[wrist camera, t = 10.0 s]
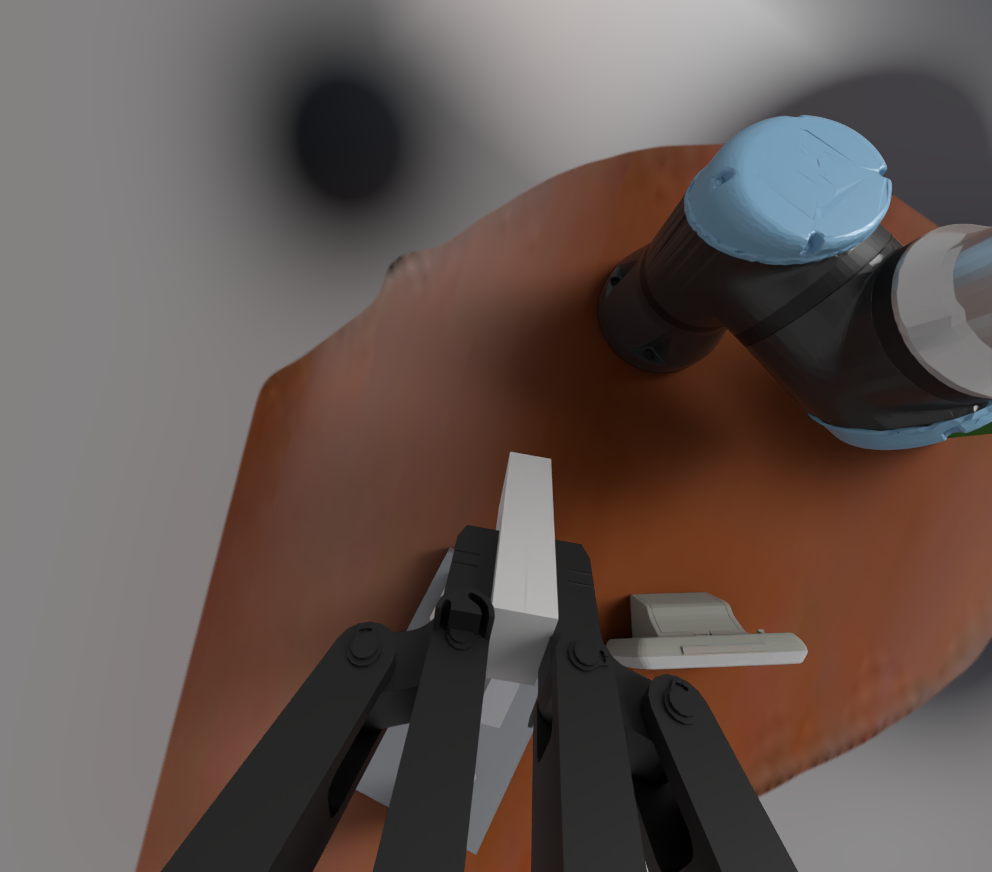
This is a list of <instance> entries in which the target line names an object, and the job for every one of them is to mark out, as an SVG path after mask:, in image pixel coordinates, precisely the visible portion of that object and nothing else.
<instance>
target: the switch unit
mask: <svg viewBox="0 0 992 872" xmlns="http://www.w3.org/2000/svg"><path fill="white" fill-rule="evenodd" d="M453 553H454V549H453V548H451V547H450V548H449V550H448V552H447V553H446V555H445V557H444V559H443V561H442V563H441V565H440V567H439V569H438V571H437V573H436V575H435V576H434V578H433V580H432V582H431V584H430V586H429V588H428V590H427V592H426V594H425V596H424V598H423V599H422V601H421V603H420V605H419V607H418V609H417V611H416V613H415V615H414V617H413V619H412V621H411V622H410V624H409V626H408V628H407V630H406V631H410V630H414V629H418V628H420V627H422V626H424V625H426V624H428V623H429V622H430V616H431V614H432V612H433V610H434V608H435V606H436V604H437V602H438V600H439V598H440V596H441V595H442V593H443V591H444V589H445V586H446V582H447V578H448V574H449V569H450V565H451V562H452V557H453ZM537 696H538V677H537V680H536V683H535V686H531V685H525V684H520V686H519V688H518V690H517V692H516V694H515V697H514V699H513V701H512V703H511V705H510V707H509V709H508V711H507V713H506V716H505V718H504V720H503V722H502V724H501V726H500V728H496V727H493V726H489V725H485V724H482V723H480V732H479V741H478V750H477V759H476V768H475V773H476V779H475V781H474V786H473V795H472V804H471V813H470V822H469V831H468V840H467V849H466V850H468V851H470V852H472V853H474V854H477V852H478V849H479V847H480V845H481V843H482V841H483V839H484V836H485V834H486V832H487V830H488V828H489V826H490V823H491V821H492V819H493V817H494V815H495V813H496V811H497V808H498V806H499V804H500V802H501V800H502V798H503V795H504V793H505V791H506V789H507V787H508V785H509V782H510V780H511V778H512V776H513V774H514V772H515V770H516V767H517V765H518V763H519V761H520V759H521V757H522V754H523V752H524V750H525V748H526V746H527V744H528V741H529V739H530V737H531V735H532V733H533V726H532V728H530V727H528V722H529V717H530V715H531V712H532V709H533V707H534V704H535V701H536V699H537ZM408 728H409V723H408V724H403V725H398V726H393V727H388V729H387V731H386V733H385V735H384V736H383V738H382V740H381V742H380V744H379V746H378V748H377V750H376V752H375V754H374V756H373V757H372V759H371V761H370V763H369V765H368V767H367V769H366V771H365V773H364V775H363V777H362V779H361V780H360V782H359V784H358V786H357V788H356V790H357V791H359V792H361V793H363V794H365V795H367V796H368V797H370V798H372V799H374V800H376V801H378V802H379V803H381V804H383V805H385V806H387V807H389V804H390V800H391V796H392V792H393V788H394V784H395V780H396V776H397V772H398V768H399V764H400V760H401V756H402V752H403V748H404V744H405V740H406V736H407V732H408Z"/></svg>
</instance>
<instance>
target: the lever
mask: <svg viewBox="0 0 992 872" xmlns="http://www.w3.org/2000/svg"><path fill="white" fill-rule="evenodd" d="M444 590H445V589H444ZM443 594H444V591H443V593H442V595H443ZM442 595H441V596H442ZM441 596H440V597H441ZM439 599H440V598H439ZM438 601H439V600H438ZM434 614H435V608H434V610H433V612H432V614H431V616H430V621H431V620H432V619H433V618H434ZM519 686H520V683H514V682H509V681H503V680H498V679H492V678H487V677H486V678H485V687H484V696H483V705H482V714H481V723H482V724H485V725H489V726H493V727H496V728H500V726H501V724H502V722H503V720H504V718H505V716H506V713H507V711H508V709H509V707H510V705H511V703H512V701H513V699H514V697H515V694H516V692H517V690H518V688H519Z"/></svg>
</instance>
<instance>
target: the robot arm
mask: <svg viewBox="0 0 992 872" xmlns="http://www.w3.org/2000/svg"><path fill="white" fill-rule="evenodd" d="M886 170H887V166H886V163H885V161H884V160H883V158H882V156H881V155H880V153H879V152H878V151H877V150H876V149H875V147H874V146H873V145H872V144H871V143H870V142H869V141H867V140H866V139H865V138H864V137H862V136H861V135H860V134H859V133H857V132H855V131H854V130H852V129H850V128H849V127H847V126H844V125H843V124H840V123H838V122H835V121H831V120H829V119H825V118H821V117H815V116H807V115H801V116H799V117H789V116H780V117H774V118H770V119H767V120H764V121H761V122H758V123H756V124H753V125H751V126H749V127H747V128H746V129H744V130H742V131H741V132H739V133H738V134H736V135H735V136H734V137H732V138H731V139H730V140H729V141H728V142H727V143H726V144H725V145H724V146H723V147H722V148H721V149H720V150H719V151H718V153H717V154H716V155H715V156H714V158H713V159H712V160H711V161H710V162H709V164H708V165H707V166H706V167H705V168H703V169H702V170H701V171H700V172H699V173H698V174H697V175H696V176H695V178H694V179H693V180H692V182H691V185H690V186H689V188H688V189H687V192H686V194H685V195H684V197H683V198H682V200H681V201H680V202H679V204H678V205H677V207H676V208H675V209H674V211H673V212H672V214H671V215H670V217H669V218H668V219H667V221H666V222H665V224H664V225H663V226H662V228H661V229H660V231H659V232H658V233H657V235H656V236H655V238H654V239H653V241H652V242H651V243H650V244H648V245H646V246H644V247H642V248H641V249H639V250H637V251H635V252H633V253H632V254H630V255H629V256H627V257H626V258H624V259H623V260H622V261H621V262H620V263H619V264H618V265H617V266H616V267H615V268H614V270H613V271H612V273H611V274H610V276H609V277H608V279H607V280H606V282H605V284H604V286H603V288H602V290H601V293H600V297H599V302H598V318H599V323H600V327H601V330H602V332H603V335H604V337H605V339H606V341H607V342H608V344H609V345H610V347H611V348H612V349H613V350H614V351H615V352H616V353H617V354H618V355H619V356H620V357H621V358H622V359H623V360H625V361H626V362H628V363H629V364H631V365H633V366H635V367H637V368H640V369H643V370H646V371H650V372H658V373H667V372H674V371H678V370H682V369H684V368H687V367H689V366H691V365H692V364H694V363H696V362H698V361H699V360H701V359H703V358H704V357H705V356H707V355H708V354H709V353H710V352H711V351H712V350H713V349H714V348H715V347H716V346H717V345H718V343H719V342H720V340H721V338H722V337H723V335H724V334H725V332H726V331H727V329H728V330H729V331H730V332H731V333H732V334H733V335H734V336H735V337H736V338H737V339H738V340H739V341H740V342H741V343H742V344H743V345H744V346H745V347H746V348H747V350H748V351H749V352H750V353H751V354H752V355H753V356H754V357H755V358H756V359H757V360H758V361H759V362H760V363H761V364H762V365H763V366H764V368H765V369H766V370H767V371H768V372H769V373H770V374H771V375H772V376H773V377H774V378H775V379H776V380H777V381H778V382H779V383H780V384H781V385H782V387H783V388H784V389H785V390H786V391H787V392H788V393H789V394H790V395H791V396H792V397H793V398H794V399H795V400H796V401H797V402H798V403H799V405H800V406H801V407H802V408H803V409H804V410H805V411H806V412H807V414H808V415H809V416H810V417H811V418H812V419H813V420H814V421H816V422H818V423H819V424H821V425H823V426H824V427H825V428H826V429H827V430H829V431H830V432H831V433H832V434H833V435H834V436H835V437H837V438H838V439H840V440H841V441H843V442H845V443H847V444H850V445H853V446H856V447H860V448H865V449H873V450H899V449H909V448H916V447H921V446H926V445H931V444H934V443H938V442H942V441H945V440H946V439H947V436H949V435H950V434H952V433H956V432H962V433H968V432H971V431H973V430H976V429H978V428H980V427H982V426H984V425H986V424H988V423H990V422H992V227H984V226H979V225H971V224H956V225H948V226H944V227H940V228H937V229H935V230H933V231H931V232H929V233H927V234H925V235H923V236H921V237H920V238H918V239H916V240H914V241H913V242H911V243H909V244H907V245H906V246H903V245H902V244H901V243H900V242H899V241H898V240H897V239H895V238H894V237H893V236H892V234H890V233H889V232H888V231H887V230H886V229H885V228H884V227H883V226H882V225H881V224H880V222H881V220H882V219H883V217H884V216H885V214H886V212H887V210H888V207H889V205H890V200H891V192H892V184H891V180H890V179H887V178H884V177H882V175H883V174H884V173H885V172H886ZM593 586H594V584H593V577H592V570H591V563H590V558H589V556H588V555H587V553H586V551H585V550H584V548H583V546H582V545H581V544H576V543H570V542H565V541H559V540H555V534H554V512H553V491H552V469H551V459H548V458H543V457H537V456H532V455H526V454H520V453H515V452H510V455H509V460H508V465H507V470H506V475H505V480H504V485H503V490H502V495H501V500H500V505H499V511H498V518H497V526H496V530H492V529H487V528H481V527H475V526H470V525H467V526H466V527H465V528H464V529H463V531H462V532H461V533H460V534H459V535H458V537H457V541H456V545H455V549H454V553H453V557H452V562H451V565H450V569H449V574H448V578H447V582H446V586H445V590H444V594H443V595H442V596H441V597H440V599H439V601H438V602H437V604H436V606H435V614H434V618H433V619H432V620H431V621H430V622H429V623H428V624H426V625H424V626H422V627H420V628H418V629H414V630H410V631H403V632H396V633H392V632H391V630H389V629H388V628H386V627H385V626H384V625H382V624H379V623H374V622H366V623H359V624H357V625H355V626H352V627H350V628H348V629H347V630H346V631H345V632H344V633H343V634H342V635H341V636H339V637H338V639H337V640H336V641H335V643H334V644H333V645H332V647H331V648H330V649H329V650H328V652H327V653H326V654H325V656H324V657H323V658H322V660H321V661H320V662H319V664H318V665H317V666H316V668H315V669H314V670H313V672H312V673H311V674H310V676H309V677H308V678H307V679H306V681H305V682H304V683H303V685H302V686H301V687H300V689H299V690H298V691H297V693H296V694H295V695H294V697H293V698H292V699H291V701H290V702H289V703H288V705H287V706H286V707H285V709H284V710H283V711H282V712H281V714H280V715H279V716H278V718H277V719H276V720H275V722H274V723H273V724H272V726H271V727H270V728H269V730H268V731H267V732H266V734H265V735H264V736H263V738H262V739H261V740H260V741H259V743H258V744H257V745H256V747H255V748H254V749H253V751H252V752H251V753H250V755H249V756H248V757H247V759H246V760H245V761H244V763H243V764H242V765H241V767H240V768H239V769H238V771H237V772H236V773H235V774H234V776H233V777H232V778H231V780H230V781H229V782H228V784H227V785H226V786H225V788H224V789H223V790H222V792H221V793H220V794H219V796H218V797H217V798H216V800H215V801H214V802H213V803H212V805H211V806H210V807H209V809H208V810H207V811H206V813H205V814H204V815H203V817H202V818H201V819H200V821H199V822H198V823H197V825H196V826H195V827H194V829H193V830H192V831H191V833H190V834H189V835H188V836H187V838H186V839H185V840H184V842H183V843H182V844H181V846H180V847H179V848H178V850H177V851H176V852H175V854H174V855H173V856H172V858H171V859H170V860H169V862H168V863H167V864H166V866H165V867H164V868H163V869H162V871H161V872H313V870H314V868H315V866H316V865H317V863H318V861H319V859H320V857H321V855H322V853H323V851H324V849H325V847H326V845H327V844H328V842H329V840H330V838H331V836H332V834H333V832H334V830H335V828H336V826H337V824H338V822H339V821H340V819H341V817H342V815H343V813H344V811H345V809H346V807H347V805H348V803H349V801H350V800H351V798H352V796H353V794H354V792H355V790H356V788H357V786H358V784H359V782H360V780H361V779H362V777H363V775H364V773H365V771H366V769H367V767H368V765H369V763H370V761H371V759H372V757H373V756H374V754H375V752H376V750H377V748H378V746H379V744H380V742H381V740H382V738H383V736H384V735H385V733H386V731H387V729H388V727H393V726H398V725H403V724H408V723H409V728H408V732H407V736H406V740H405V744H404V748H403V752H402V756H401V760H400V764H399V768H398V772H397V776H396V780H395V784H394V788H393V792H392V796H391V800H390V804H389V808H388V812H387V816H386V820H385V824H384V828H383V832H382V837H381V841H380V845H379V849H378V853H377V857H376V861H375V865H374V869H373V872H464V867H465V858H466V849H467V840H468V831H469V822H470V813H471V804H472V795H473V786H474V777H475V768H476V759H477V750H478V741H479V732H480V723H481V714H482V705H483V696H484V687H485V678H486V677H487V678H492V679H498V680H503V681H509V682H514V683H520V684H525V685H531V686H535V683H536V680H537V677H538V696H537V699H536V701H535V704H534V707H533V709H532V712H531V715H530V717H529V722H528V727H530V728H532V726H533V781H532V853H531V872H647V870H646V864H647V868H648V871H649V872H798V871H797V869H796V867H795V865H794V863H793V862H792V860H791V858H790V856H789V854H788V852H787V850H786V848H785V847H784V845H783V843H782V841H781V839H780V837H779V836H778V834H777V832H776V830H775V828H774V826H773V824H772V823H771V821H770V819H769V817H768V815H767V813H766V811H765V810H764V808H763V806H762V804H761V802H760V801H759V798H758V797H757V795H756V793H755V791H754V789H753V787H752V786H751V784H750V782H749V780H748V778H747V776H746V774H745V773H744V771H743V769H742V767H741V765H740V763H739V761H738V760H737V758H736V756H735V754H734V752H733V750H732V748H731V747H730V745H729V743H728V741H727V739H726V737H725V736H724V734H723V732H722V730H721V728H720V726H719V724H718V723H717V721H716V719H715V717H714V715H713V713H712V711H711V710H710V708H709V706H708V704H707V702H706V701H705V700H704V698H703V697H702V695H701V694H700V693H699V691H698V690H696V689H695V688H694V687H693V686H692V685H691V684H690V683H688V682H687V681H685V680H683V679H681V678H679V677H677V676H674V675H667V674H664V675H661V676H658V677H655V678H654V680H653V681H651V680H649V679H647V678H645V677H643V676H642V675H640V674H638V673H636V672H634V671H632V670H630V669H628V668H626V667H625V666H623V665H622V664H620V663H619V662H618V661H617V660H616V659H615V658H614V657H613V656H612V655H611V654H610V651H609V650H608V649H607V647H606V646H605V645H604V643H603V640H602V637H601V632H600V625H599V619H598V612H597V605H596V598H595V591H594V588H593ZM645 861H646V864H645Z"/></svg>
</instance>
